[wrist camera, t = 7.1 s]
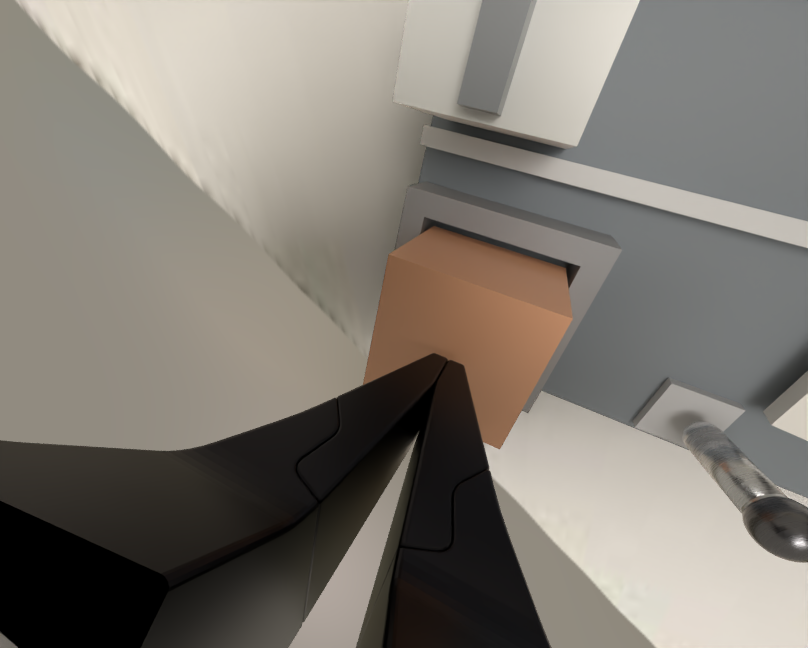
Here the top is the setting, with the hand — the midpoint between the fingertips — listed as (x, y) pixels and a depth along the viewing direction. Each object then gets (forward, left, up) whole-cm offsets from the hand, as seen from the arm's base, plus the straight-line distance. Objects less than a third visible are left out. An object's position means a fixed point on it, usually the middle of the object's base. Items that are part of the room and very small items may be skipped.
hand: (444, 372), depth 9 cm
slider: (+1, -7, -6) cm, 10 cm away
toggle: (-9, +2, -6) cm, 11 cm away
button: (0, 0, -5) cm, 5 cm away
